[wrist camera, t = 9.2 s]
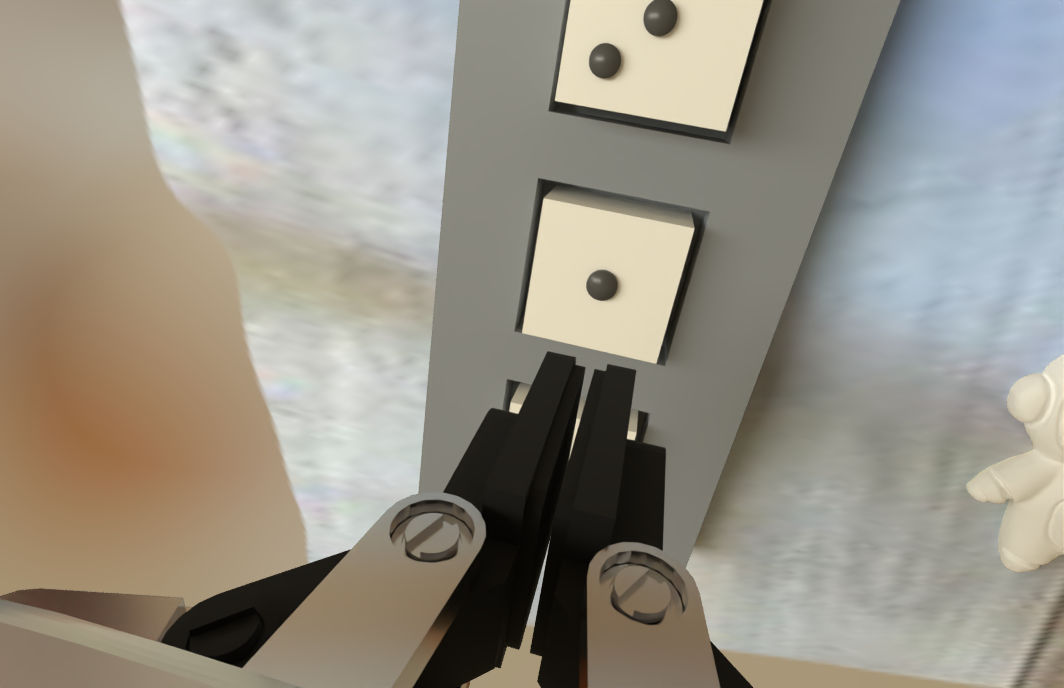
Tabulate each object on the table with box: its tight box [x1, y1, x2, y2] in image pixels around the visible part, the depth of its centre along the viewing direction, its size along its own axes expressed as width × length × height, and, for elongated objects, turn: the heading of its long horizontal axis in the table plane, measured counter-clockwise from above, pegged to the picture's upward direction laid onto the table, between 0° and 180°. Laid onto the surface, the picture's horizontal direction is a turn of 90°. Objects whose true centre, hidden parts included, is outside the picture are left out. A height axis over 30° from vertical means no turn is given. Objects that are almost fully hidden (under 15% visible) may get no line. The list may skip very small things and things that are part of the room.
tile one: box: [522, 185, 695, 364], centre depth 23 cm, size 6×6×3 cm
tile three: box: [555, 0, 763, 132], centre depth 19 cm, size 6×6×3 cm
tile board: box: [419, 0, 900, 568], centre depth 24 cm, size 14×28×2 cm, turn 171°
